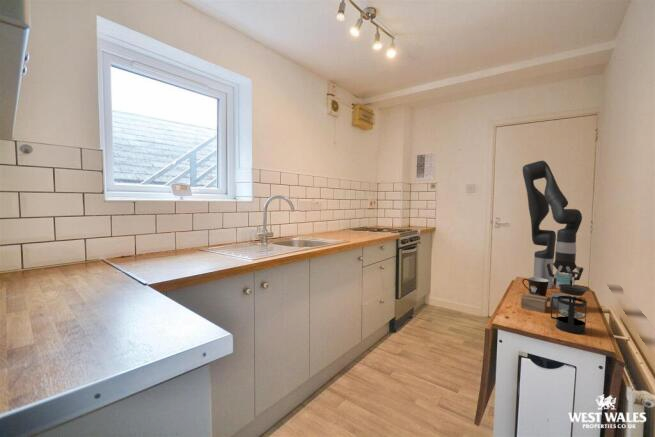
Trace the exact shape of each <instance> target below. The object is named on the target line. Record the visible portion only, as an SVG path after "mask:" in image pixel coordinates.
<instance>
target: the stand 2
mask: <svg viewBox="0 0 655 437" xmlns="http://www.w3.org/2000/svg"><path fill="white" fill-rule="evenodd" d="M552 296H554V297H558V296H571V297H572V295H569V294H564V293H556V292H552V293H551V295H550V298H549V299H550V300H549V308H550V309H551V302H552ZM573 297H576V296H575V295H573ZM561 300H564V301H568V302H569V299H561ZM557 302H558V299H555V298H553V307H552V309H554V310H555V309H556V310H557ZM575 303H577V301H575ZM561 309H566V310H569V305H566V304H563V303H560V302H558V310H561ZM575 309H576V306H575Z"/></svg>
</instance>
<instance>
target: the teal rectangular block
mask: <svg viewBox="0 0 655 437" xmlns="http://www.w3.org/2000/svg"><path fill="white" fill-rule="evenodd" d="M570 281H571V277H570V276H569V274H568V273H559V274H558V275H557V278H556V286H555V288H556V289H559V290H560V287H559V286H558V285H560V284H570Z"/></svg>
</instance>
